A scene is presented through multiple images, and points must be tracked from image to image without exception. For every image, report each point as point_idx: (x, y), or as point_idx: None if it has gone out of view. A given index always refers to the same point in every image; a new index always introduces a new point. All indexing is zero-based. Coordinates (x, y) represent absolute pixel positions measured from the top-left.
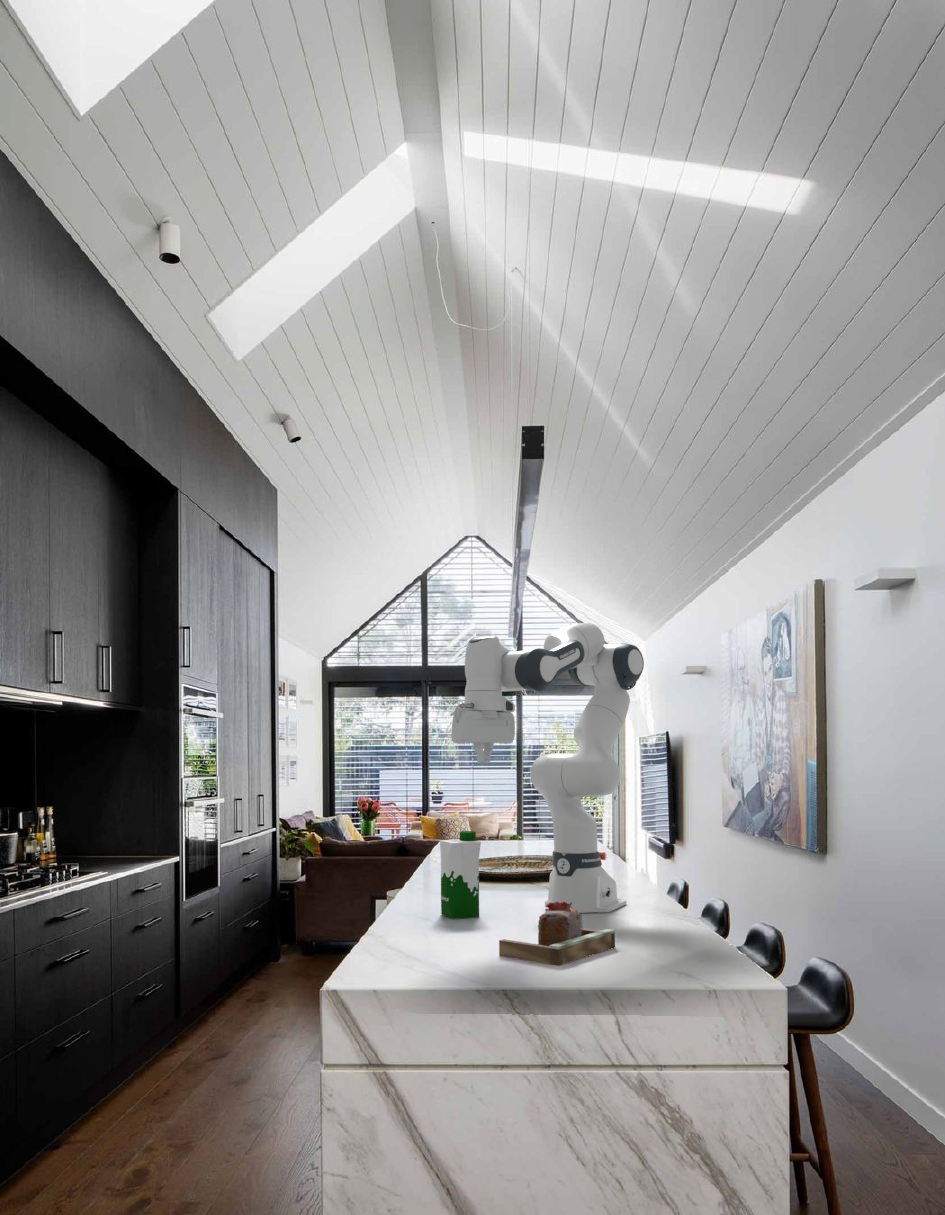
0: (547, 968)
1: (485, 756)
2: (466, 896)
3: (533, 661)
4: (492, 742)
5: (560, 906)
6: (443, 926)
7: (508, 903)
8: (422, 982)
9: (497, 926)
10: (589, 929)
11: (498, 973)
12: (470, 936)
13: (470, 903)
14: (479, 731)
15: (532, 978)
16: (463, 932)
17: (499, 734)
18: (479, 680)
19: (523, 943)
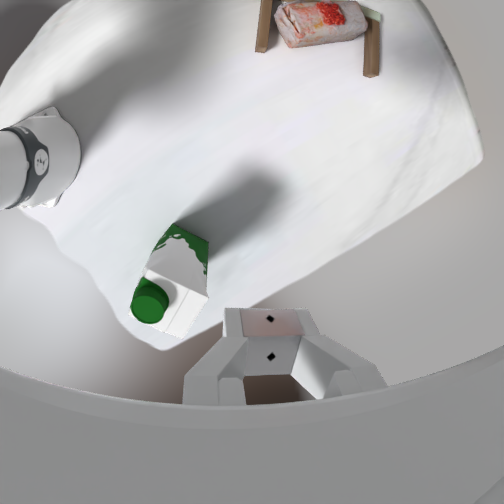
0: (383, 25)
1: (289, 329)
2: (191, 240)
3: None
4: (242, 405)
5: (339, 9)
6: (257, 222)
7: (72, 253)
8: (458, 108)
9: (217, 161)
10: (263, 7)
11: (418, 60)
12: (297, 154)
13: (185, 234)
14: (490, 432)
15: (414, 32)
16: (279, 176)
17: (92, 474)
18: None
19: (376, 48)
